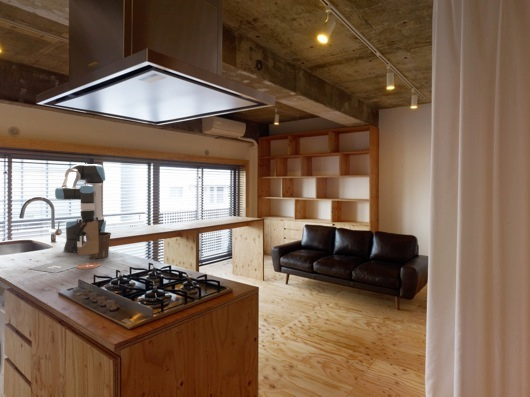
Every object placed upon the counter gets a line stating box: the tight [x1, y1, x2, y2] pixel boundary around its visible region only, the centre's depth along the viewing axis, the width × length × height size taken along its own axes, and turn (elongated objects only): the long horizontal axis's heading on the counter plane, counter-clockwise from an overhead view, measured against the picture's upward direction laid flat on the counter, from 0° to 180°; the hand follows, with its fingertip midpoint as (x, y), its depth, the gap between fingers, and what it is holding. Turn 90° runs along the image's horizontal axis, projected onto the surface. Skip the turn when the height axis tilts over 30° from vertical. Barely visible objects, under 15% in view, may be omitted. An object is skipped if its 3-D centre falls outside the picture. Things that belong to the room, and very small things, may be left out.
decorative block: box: [77, 221, 99, 256], centre depth 204 cm, size 11×6×20 cm, turn 126°
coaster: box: [75, 262, 101, 270], centre depth 205 cm, size 13×13×1 cm
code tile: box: [29, 262, 78, 274], centre depth 200 cm, size 16×22×1 cm
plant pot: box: [84, 231, 112, 260], centre depth 228 cm, size 16×16×16 cm
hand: (88, 244), depth 204 cm, fingers open, 12 cm apart
